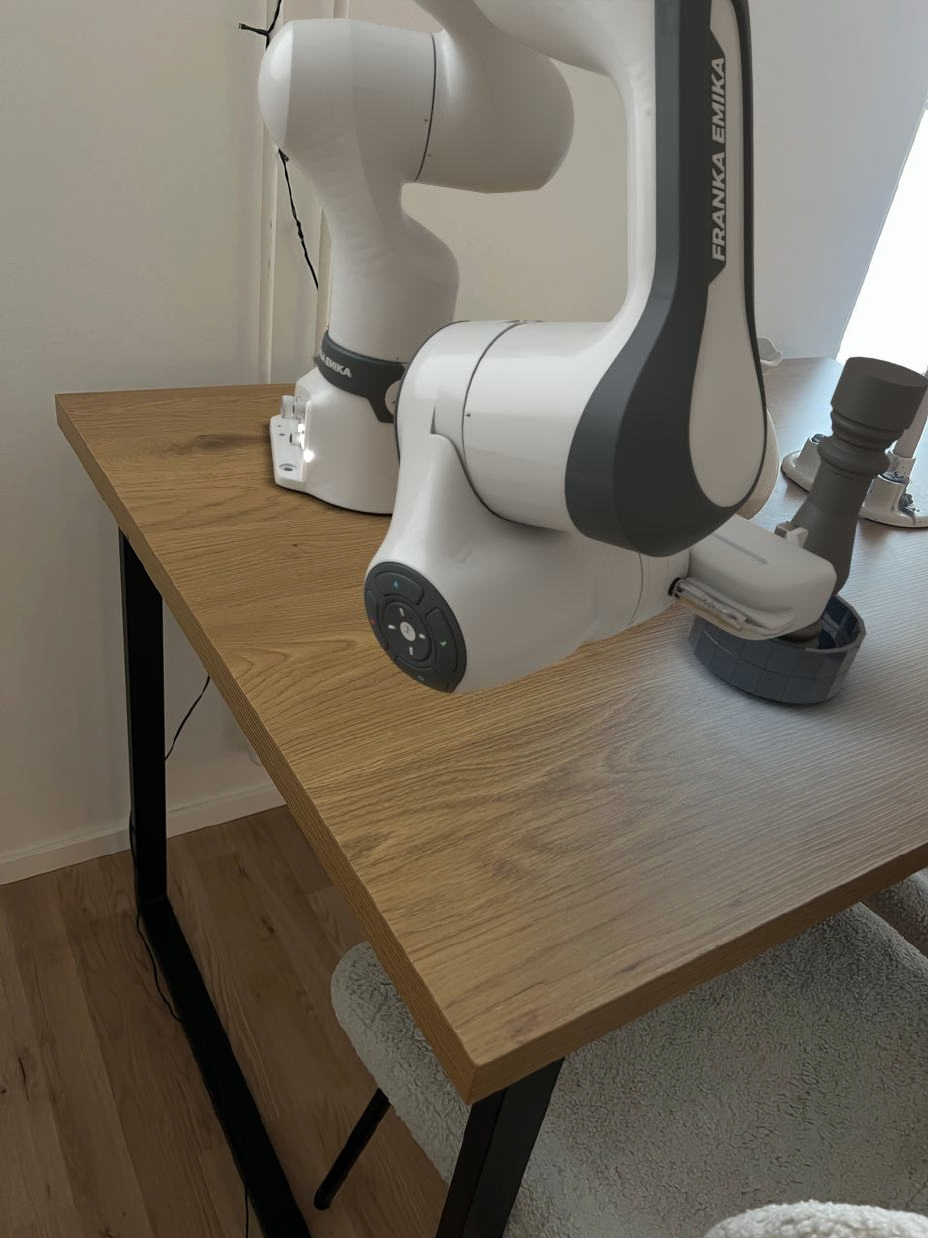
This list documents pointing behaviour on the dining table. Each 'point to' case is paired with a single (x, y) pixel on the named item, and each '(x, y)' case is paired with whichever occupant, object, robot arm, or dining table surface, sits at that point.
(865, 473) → the candle holder
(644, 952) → the dining table surface
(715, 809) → the dining table surface
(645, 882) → the dining table surface
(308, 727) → the dining table surface
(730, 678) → the bowl
